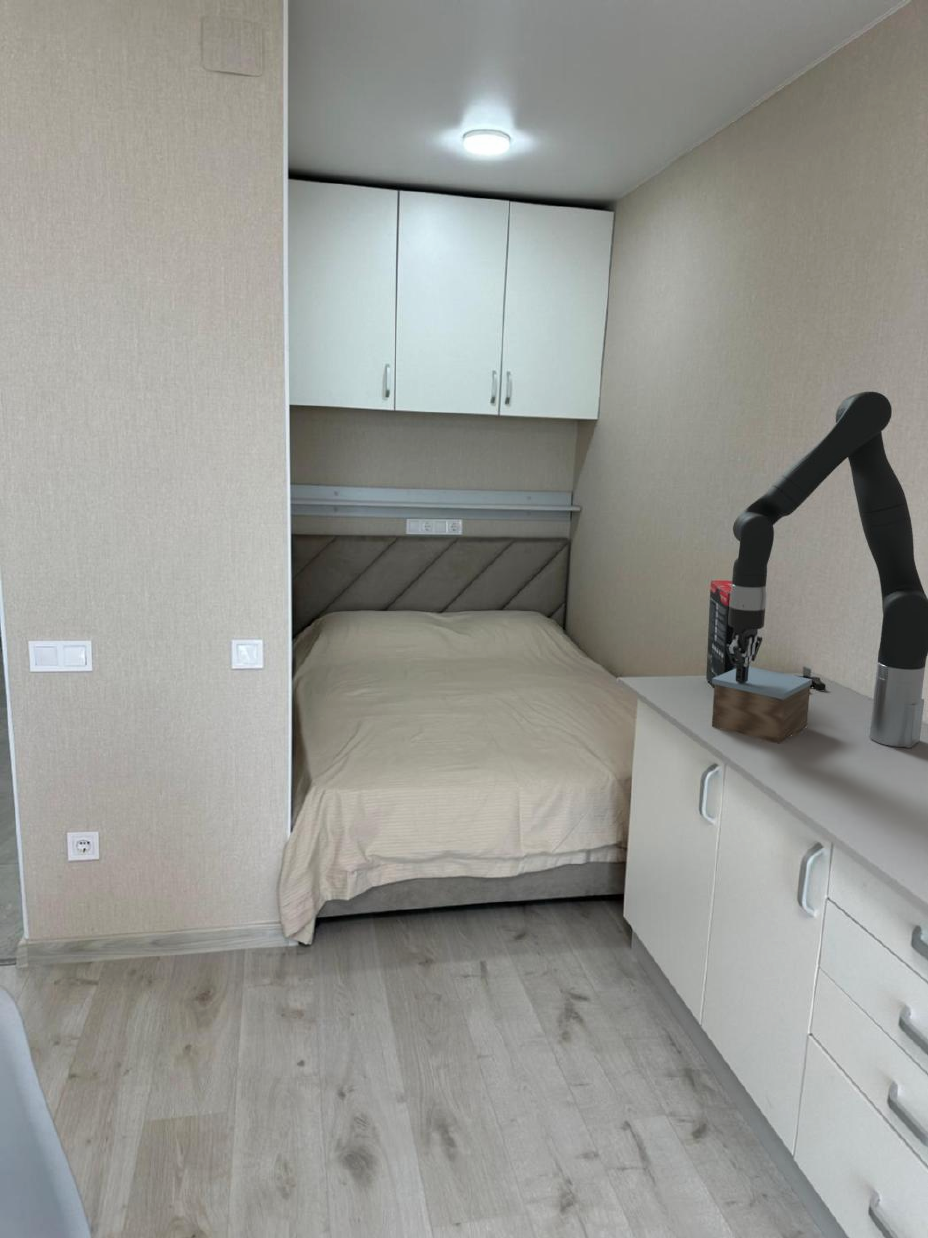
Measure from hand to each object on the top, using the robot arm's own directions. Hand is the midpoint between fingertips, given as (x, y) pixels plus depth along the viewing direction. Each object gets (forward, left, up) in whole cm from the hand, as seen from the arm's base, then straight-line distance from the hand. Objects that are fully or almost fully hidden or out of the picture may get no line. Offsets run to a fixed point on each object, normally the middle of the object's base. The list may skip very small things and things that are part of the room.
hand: (741, 681), depth 198 cm
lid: (-2, -6, -2) cm, 7 cm away
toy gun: (+4, -41, -12) cm, 43 cm away
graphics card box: (+17, -26, -12) cm, 33 cm away
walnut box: (-2, -6, -12) cm, 13 cm away
